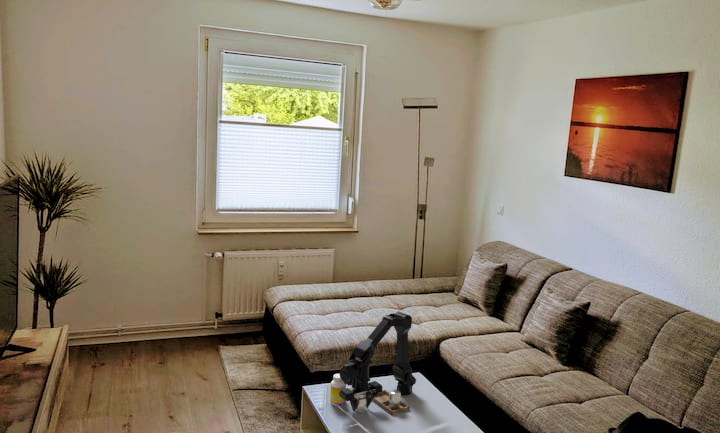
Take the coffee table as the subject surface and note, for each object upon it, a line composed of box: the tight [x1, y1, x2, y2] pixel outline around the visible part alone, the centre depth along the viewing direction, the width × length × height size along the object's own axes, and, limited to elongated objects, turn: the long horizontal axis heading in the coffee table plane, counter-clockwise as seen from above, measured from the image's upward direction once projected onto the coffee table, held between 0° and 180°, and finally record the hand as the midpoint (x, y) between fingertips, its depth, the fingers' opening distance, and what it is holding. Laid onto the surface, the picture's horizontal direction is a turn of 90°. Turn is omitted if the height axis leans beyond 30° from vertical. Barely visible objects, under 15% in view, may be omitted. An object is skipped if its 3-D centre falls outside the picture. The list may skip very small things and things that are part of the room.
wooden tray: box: [372, 389, 411, 416], centre depth 248 cm, size 9×18×3 cm, turn 34°
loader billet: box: [388, 389, 402, 410], centre depth 244 cm, size 5×5×7 cm
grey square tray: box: [348, 387, 366, 396], centre depth 256 cm, size 7×7×3 cm
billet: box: [354, 395, 367, 414], centre depth 240 cm, size 5×5×7 cm
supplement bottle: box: [329, 373, 347, 407], centre depth 248 cm, size 7×7×13 cm
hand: (360, 409), depth 241 cm, fingers open, 6 cm apart
